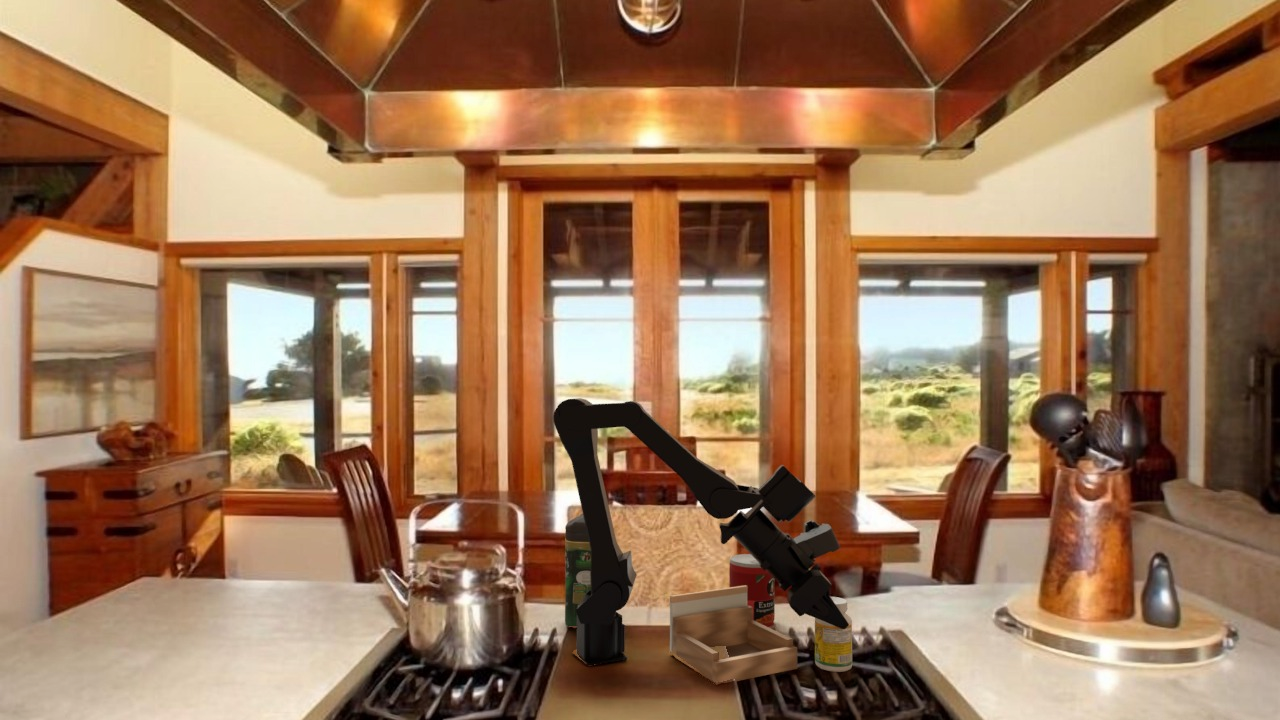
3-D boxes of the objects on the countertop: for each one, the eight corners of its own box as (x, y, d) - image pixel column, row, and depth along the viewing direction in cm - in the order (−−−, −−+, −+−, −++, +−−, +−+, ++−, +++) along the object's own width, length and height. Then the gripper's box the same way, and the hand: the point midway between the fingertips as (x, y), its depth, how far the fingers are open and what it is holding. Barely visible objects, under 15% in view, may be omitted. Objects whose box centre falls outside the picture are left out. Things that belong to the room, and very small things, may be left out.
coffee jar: (569, 614, 136) (570, 510, 137) (613, 615, 136) (614, 511, 136) (560, 631, 127) (561, 519, 127) (607, 633, 126) (608, 520, 127)
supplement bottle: (850, 675, 108) (849, 607, 109) (812, 669, 110) (811, 602, 110) (854, 662, 113) (853, 597, 114) (817, 657, 115) (817, 593, 116)
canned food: (761, 632, 127) (761, 566, 127) (720, 623, 132) (720, 559, 132) (782, 621, 133) (782, 558, 133) (742, 612, 138) (742, 551, 138)
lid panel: (671, 656, 115) (671, 596, 115) (669, 655, 116) (669, 595, 116) (747, 642, 122) (747, 586, 122) (745, 641, 122) (745, 585, 122)
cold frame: (716, 685, 104) (716, 641, 104) (673, 657, 115) (673, 617, 115) (797, 668, 110) (797, 626, 111) (749, 643, 121) (749, 605, 121)
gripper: (815, 516, 104) (898, 600, 102) (798, 497, 122) (868, 568, 121) (757, 573, 104) (839, 657, 103) (748, 545, 123) (818, 616, 121)
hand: (842, 620), depth 112 cm, fingers closed on supplement bottle, 5 cm apart
